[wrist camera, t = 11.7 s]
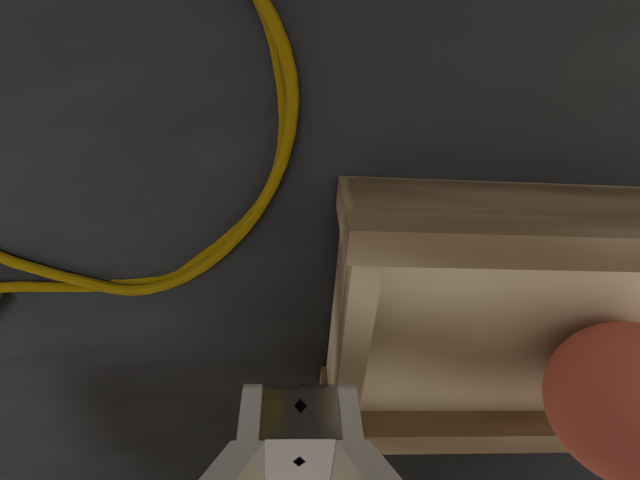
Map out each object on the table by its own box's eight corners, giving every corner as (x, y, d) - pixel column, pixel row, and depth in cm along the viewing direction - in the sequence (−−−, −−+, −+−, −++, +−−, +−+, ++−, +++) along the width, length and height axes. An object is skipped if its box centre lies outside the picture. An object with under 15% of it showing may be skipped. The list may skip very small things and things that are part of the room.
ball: (581, 382, 10) (830, 455, 8) (565, 274, 13) (739, 314, 12) (524, 488, 12) (712, 558, 11) (522, 373, 16) (664, 415, 14)
